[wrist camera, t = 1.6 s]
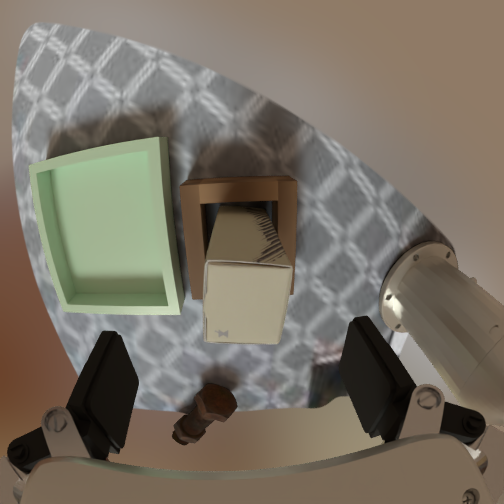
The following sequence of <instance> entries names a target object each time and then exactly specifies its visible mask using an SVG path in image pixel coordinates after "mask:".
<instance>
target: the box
mask: <svg viewBox="0 0 504 504" xmlns="http://www.w3.org/2000/svg"><path fill="white" fill-rule="evenodd" d="M292 273H293V267H292V265H291V263H290V261H289V259H288V257H287V255H286V253H285V250H284V248H283V246H282V244H281V242H280V239H279V238H278V235H277V233H276V231H275V228H274V227H273V224H272V222H271V220H270V218H269V216H268V214H267V212H266V210H265V209H262V208H253V207H242V206H220V207H219V210H218V213H217V217H216V221H215V224H214V228H213V231H212V235H211V239H210V243H209V247H208V250H207V255H206V259H205V264H204V280H203V334H204V341H205V342H210V343H227V344H278V343H279V342H280V339H281V335H282V331H283V326H284V321H285V317H286V312H287V307H288V301H289V295H290V288H291V281H292Z"/></svg>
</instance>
